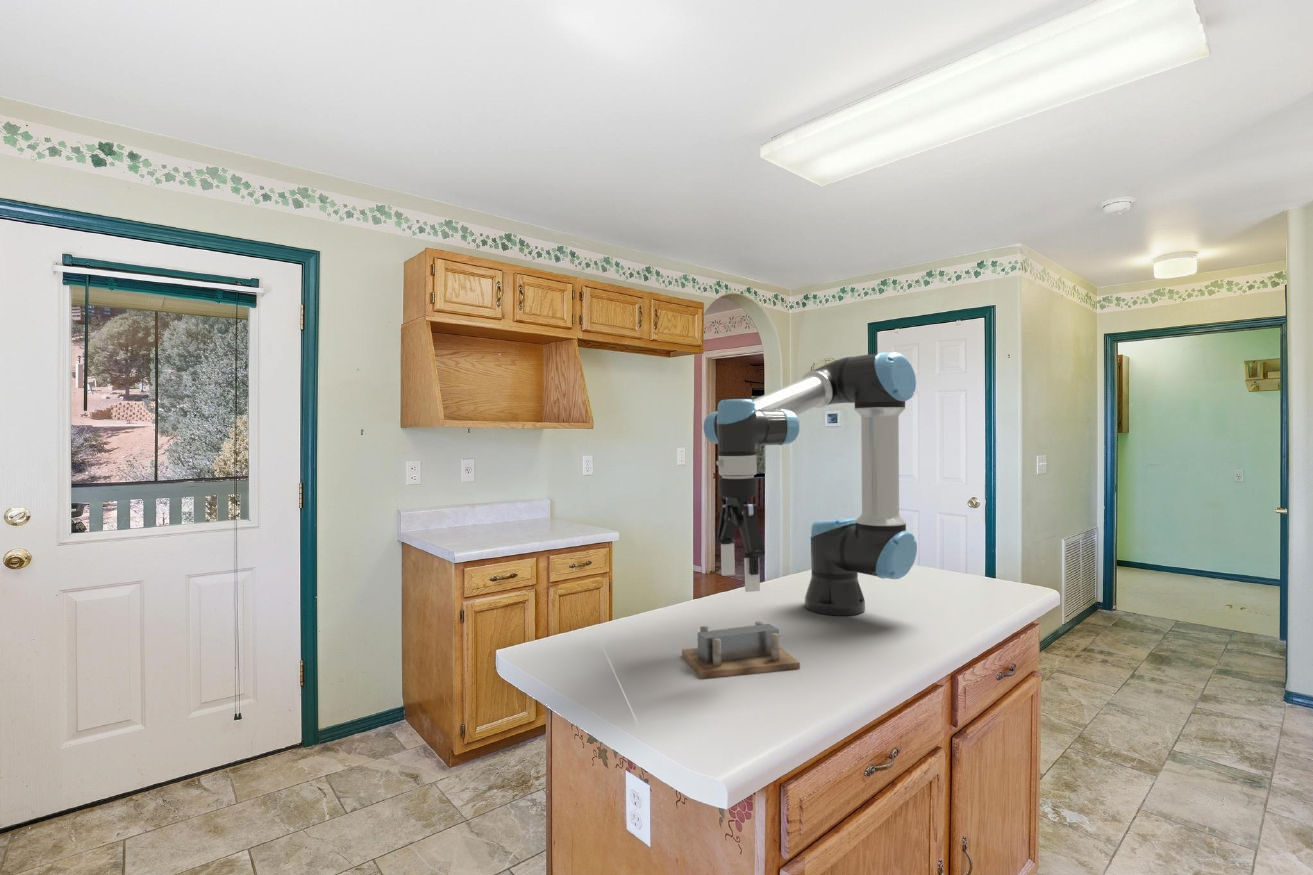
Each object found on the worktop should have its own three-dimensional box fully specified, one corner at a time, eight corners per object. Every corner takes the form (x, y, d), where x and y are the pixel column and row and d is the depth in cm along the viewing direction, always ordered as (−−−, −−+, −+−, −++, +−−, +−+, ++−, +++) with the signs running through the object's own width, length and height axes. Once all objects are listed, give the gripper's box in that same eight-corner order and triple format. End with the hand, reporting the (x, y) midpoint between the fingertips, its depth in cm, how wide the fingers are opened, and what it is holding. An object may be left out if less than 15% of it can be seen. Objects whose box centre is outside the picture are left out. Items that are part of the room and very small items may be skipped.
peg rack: (772, 646, 137) (772, 617, 137) (799, 668, 124) (799, 636, 124) (682, 655, 132) (682, 625, 132) (700, 678, 120) (700, 645, 120)
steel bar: (769, 647, 133) (768, 623, 133) (778, 654, 129) (778, 629, 129) (697, 657, 128) (697, 632, 128) (705, 664, 124) (705, 638, 124)
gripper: (700, 473, 139) (703, 570, 140) (742, 482, 115) (744, 600, 115) (733, 471, 141) (735, 567, 141) (781, 480, 117) (783, 596, 117)
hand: (739, 582), depth 128 cm, fingers open, 13 cm apart
